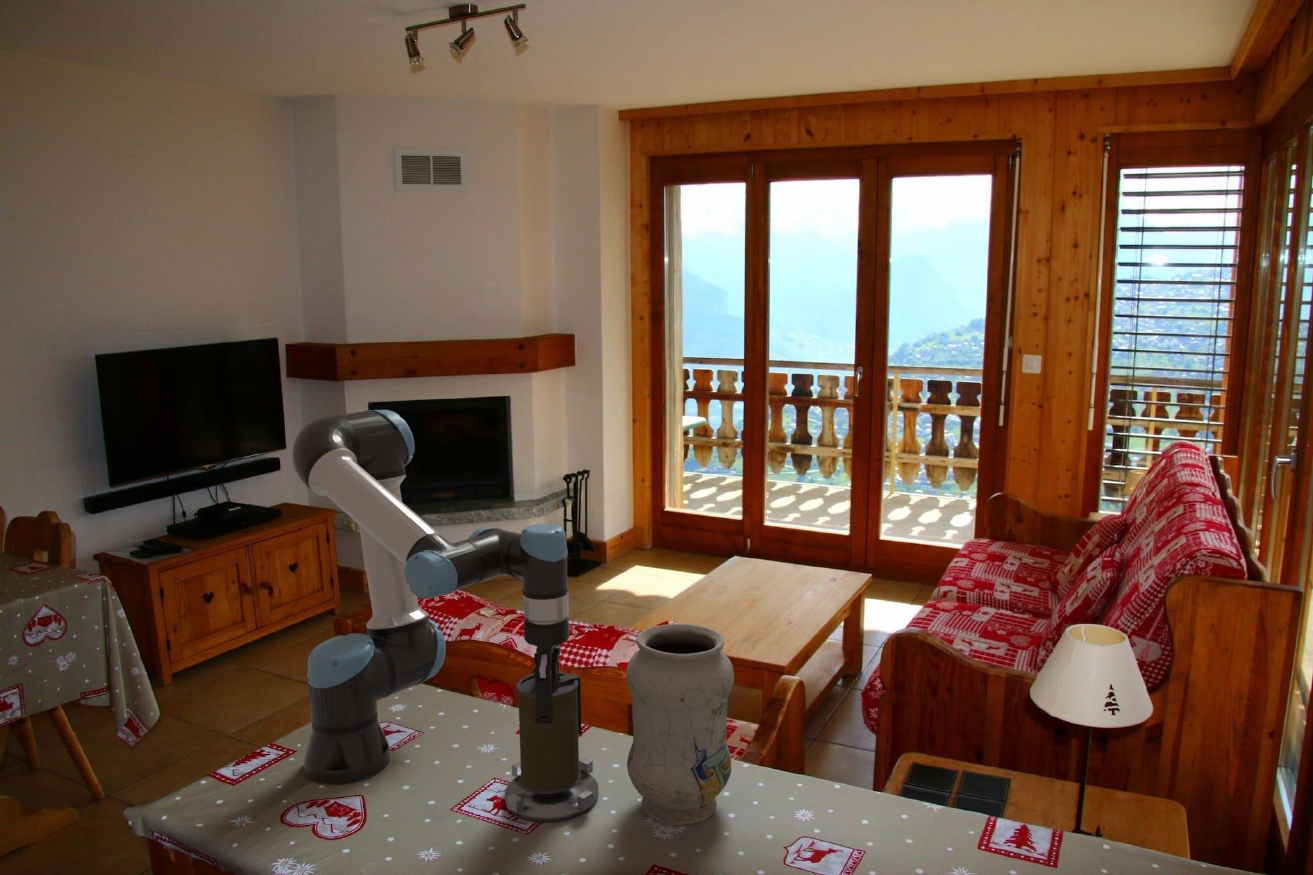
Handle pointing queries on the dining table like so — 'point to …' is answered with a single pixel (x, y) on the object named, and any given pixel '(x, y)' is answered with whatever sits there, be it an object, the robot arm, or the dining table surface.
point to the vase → (679, 721)
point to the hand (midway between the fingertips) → (550, 746)
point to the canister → (550, 736)
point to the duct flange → (552, 798)
